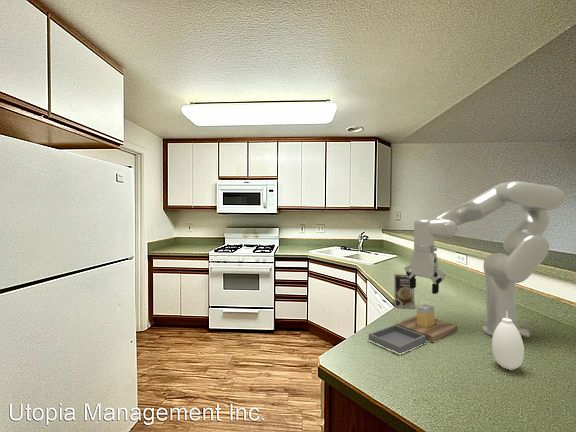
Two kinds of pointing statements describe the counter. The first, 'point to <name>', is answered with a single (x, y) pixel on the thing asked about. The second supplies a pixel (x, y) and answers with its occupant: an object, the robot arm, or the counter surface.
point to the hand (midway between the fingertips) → (423, 290)
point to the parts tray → (397, 338)
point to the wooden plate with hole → (431, 333)
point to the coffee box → (403, 292)
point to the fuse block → (425, 316)
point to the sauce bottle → (507, 344)
